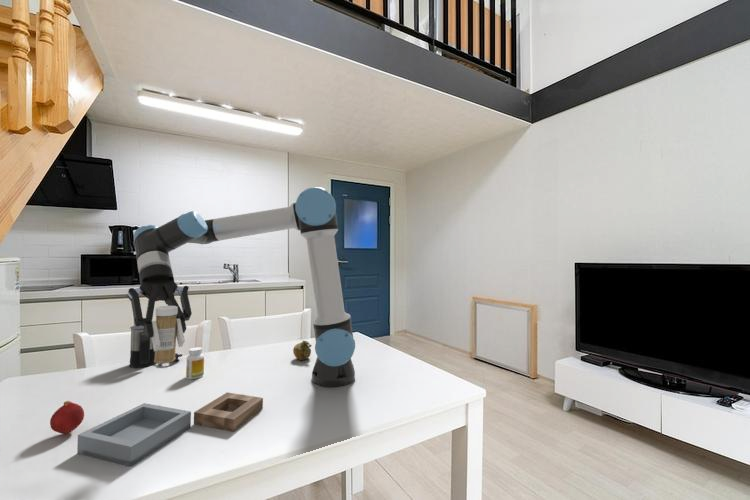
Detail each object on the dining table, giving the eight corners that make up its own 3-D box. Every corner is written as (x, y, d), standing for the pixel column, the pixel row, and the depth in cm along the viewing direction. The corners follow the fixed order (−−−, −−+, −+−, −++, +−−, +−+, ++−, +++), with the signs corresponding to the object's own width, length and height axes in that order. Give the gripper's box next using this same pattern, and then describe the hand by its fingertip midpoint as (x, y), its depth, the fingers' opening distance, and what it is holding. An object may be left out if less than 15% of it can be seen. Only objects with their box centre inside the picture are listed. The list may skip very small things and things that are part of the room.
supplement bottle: (207, 373, 113) (207, 346, 113) (197, 379, 108) (197, 351, 108) (193, 373, 114) (193, 346, 114) (182, 379, 108) (183, 350, 108)
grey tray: (190, 427, 79) (190, 411, 79) (130, 466, 64) (131, 446, 64) (143, 418, 83) (144, 403, 83) (77, 453, 68) (77, 434, 68)
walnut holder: (262, 408, 89) (262, 397, 89) (233, 431, 78) (233, 419, 78) (226, 402, 92) (227, 392, 92) (193, 424, 81) (194, 412, 81)
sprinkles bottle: (177, 357, 80) (180, 304, 80) (172, 363, 76) (175, 308, 76) (156, 358, 79) (159, 305, 79) (150, 365, 75) (153, 308, 75)
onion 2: (311, 355, 136) (312, 336, 136) (311, 361, 128) (311, 342, 128) (293, 356, 134) (294, 337, 134) (292, 362, 126) (292, 342, 127)
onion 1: (65, 427, 78) (66, 395, 78) (90, 426, 78) (91, 394, 78) (42, 441, 72) (43, 406, 72) (69, 440, 73) (70, 406, 73)
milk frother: (125, 364, 121) (126, 326, 121) (170, 354, 134) (171, 319, 134) (139, 373, 113) (140, 332, 113) (186, 361, 126) (187, 324, 126)
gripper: (187, 279, 94) (204, 347, 83) (112, 281, 82) (120, 362, 70) (194, 262, 91) (213, 331, 79) (117, 262, 78) (126, 343, 67)
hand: (169, 345), depth 75 cm, fingers closed on sprinkles bottle, 4 cm apart
